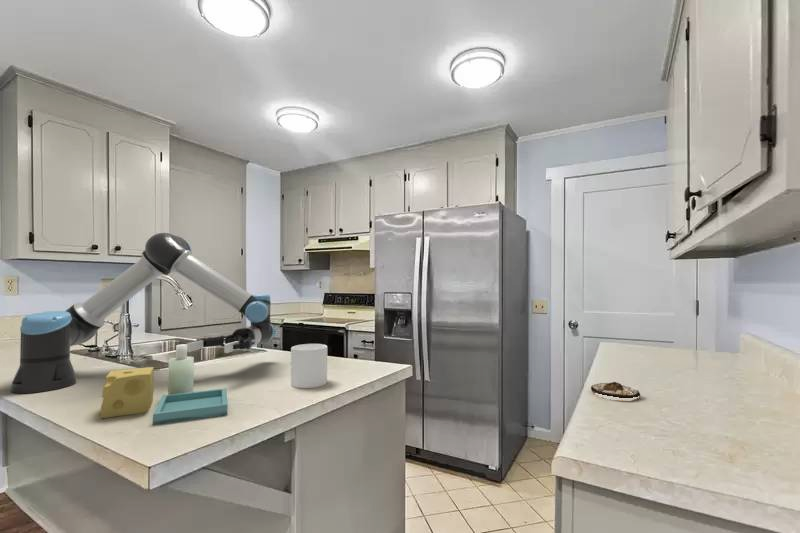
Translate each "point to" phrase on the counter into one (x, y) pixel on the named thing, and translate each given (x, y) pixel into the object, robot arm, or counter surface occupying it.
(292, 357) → the cup
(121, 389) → the cheese
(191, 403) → the teal rectangular tray
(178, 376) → the bottle
